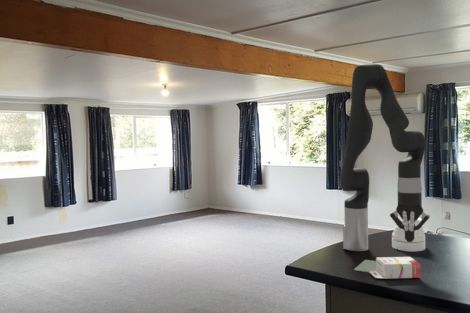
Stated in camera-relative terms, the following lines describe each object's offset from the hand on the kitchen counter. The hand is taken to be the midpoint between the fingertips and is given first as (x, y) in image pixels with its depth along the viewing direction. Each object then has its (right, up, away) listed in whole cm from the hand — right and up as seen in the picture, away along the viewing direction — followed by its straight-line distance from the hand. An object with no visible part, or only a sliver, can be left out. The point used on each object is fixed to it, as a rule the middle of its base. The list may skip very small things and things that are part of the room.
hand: (409, 241), depth 149 cm
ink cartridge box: (+1, -8, -3) cm, 8 cm away
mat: (-7, -10, +5) cm, 14 cm away
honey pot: (+13, -9, +33) cm, 36 cm away
